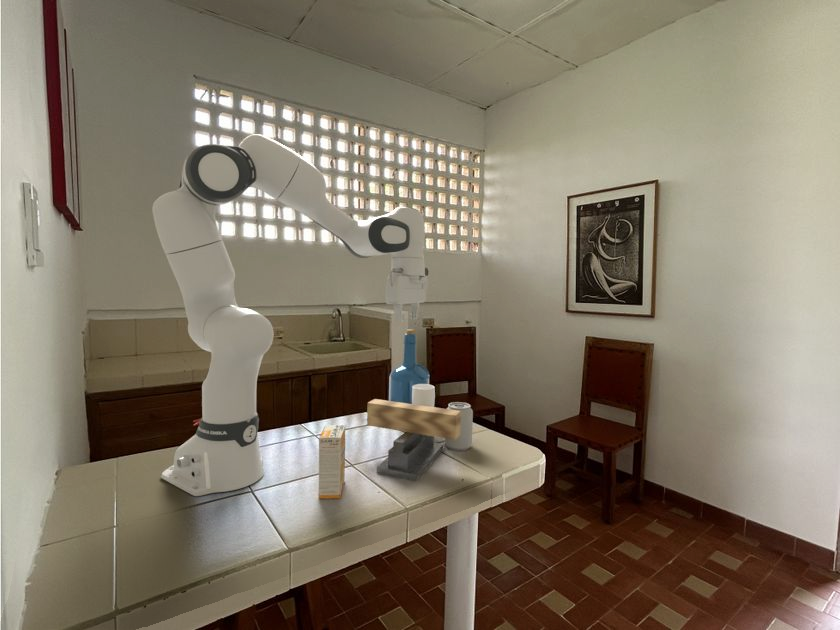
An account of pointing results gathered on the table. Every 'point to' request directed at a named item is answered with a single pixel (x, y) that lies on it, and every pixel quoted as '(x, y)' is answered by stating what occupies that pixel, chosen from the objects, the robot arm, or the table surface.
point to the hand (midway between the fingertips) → (406, 320)
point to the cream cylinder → (423, 395)
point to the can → (462, 427)
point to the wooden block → (414, 418)
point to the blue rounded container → (407, 372)
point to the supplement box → (331, 461)
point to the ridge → (410, 456)
